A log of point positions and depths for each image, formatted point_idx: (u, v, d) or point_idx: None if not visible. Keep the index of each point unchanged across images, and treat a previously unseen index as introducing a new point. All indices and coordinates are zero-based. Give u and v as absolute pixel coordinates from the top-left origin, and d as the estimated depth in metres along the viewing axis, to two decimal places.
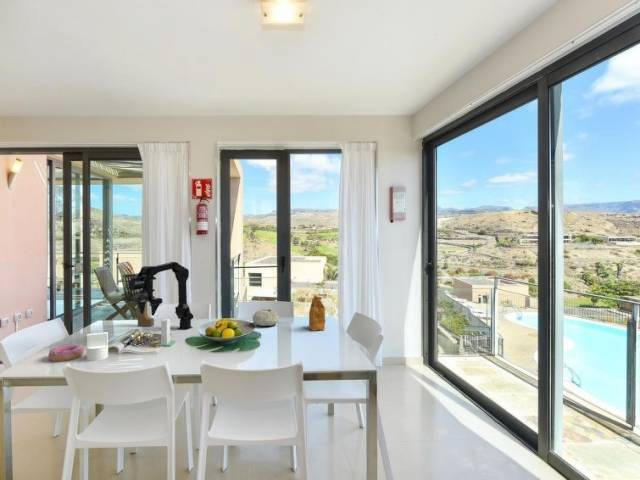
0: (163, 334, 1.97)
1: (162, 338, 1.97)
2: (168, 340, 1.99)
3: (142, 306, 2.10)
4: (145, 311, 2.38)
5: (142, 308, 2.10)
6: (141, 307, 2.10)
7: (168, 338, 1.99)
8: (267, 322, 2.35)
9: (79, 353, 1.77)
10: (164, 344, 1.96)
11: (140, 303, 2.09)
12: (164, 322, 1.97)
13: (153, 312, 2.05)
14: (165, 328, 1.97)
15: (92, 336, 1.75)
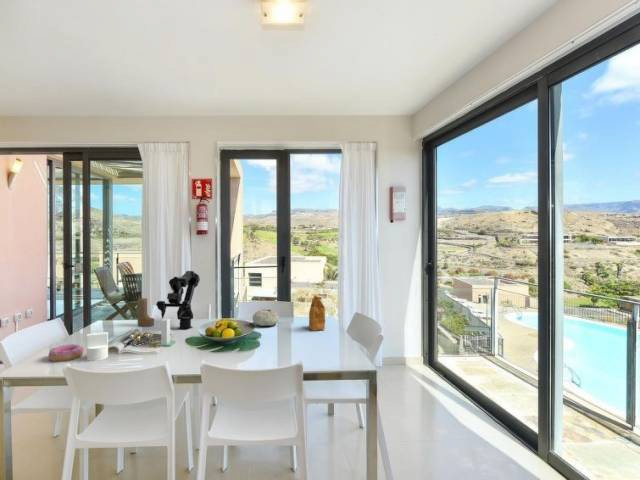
0: (163, 334, 1.97)
1: (162, 338, 1.97)
2: (168, 340, 1.99)
3: (163, 312, 2.09)
4: (145, 311, 2.38)
5: (163, 313, 2.08)
6: (163, 311, 2.08)
7: (168, 338, 1.99)
8: (267, 322, 2.35)
9: (79, 353, 1.77)
10: (164, 344, 1.96)
11: (164, 307, 2.10)
12: (164, 322, 1.97)
13: (180, 314, 2.08)
14: (165, 328, 1.97)
15: (92, 336, 1.75)
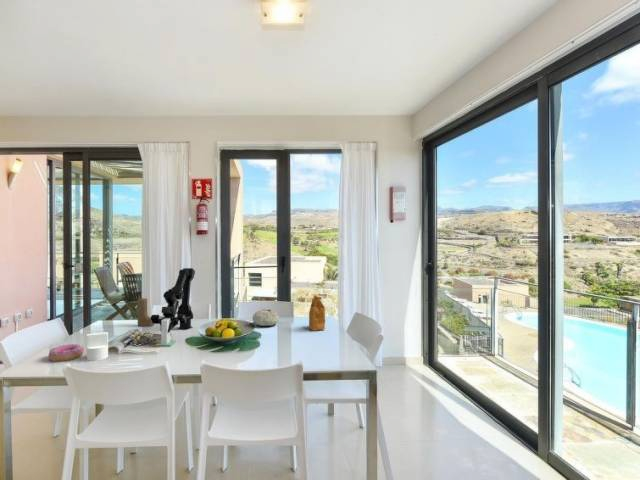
0: (163, 334, 1.97)
1: (162, 338, 1.97)
2: (168, 340, 1.99)
3: None
4: (145, 311, 2.38)
5: None
6: None
7: (168, 338, 1.99)
8: (267, 322, 2.35)
9: (79, 353, 1.77)
10: (164, 344, 1.96)
11: None
12: (164, 322, 1.97)
13: (170, 329, 1.99)
14: (165, 328, 1.97)
15: (92, 336, 1.75)
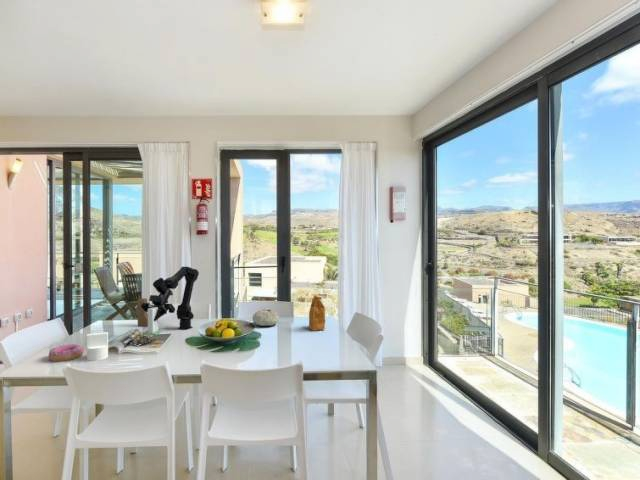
0: (149, 322, 1.98)
1: (148, 326, 1.98)
2: (155, 329, 2.00)
3: None
4: (145, 311, 2.38)
5: None
6: None
7: (155, 327, 2.00)
8: (267, 322, 2.35)
9: (79, 353, 1.77)
10: (150, 332, 1.97)
11: None
12: (150, 311, 1.97)
13: (156, 317, 2.00)
14: (151, 317, 1.97)
15: (92, 336, 1.75)
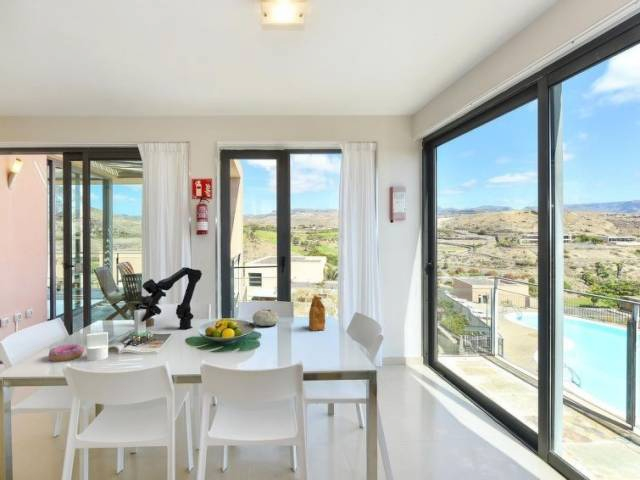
0: (135, 324, 2.02)
1: (135, 327, 2.02)
2: (141, 330, 2.03)
3: None
4: None
5: None
6: None
7: (141, 328, 2.03)
8: (267, 322, 2.35)
9: (79, 353, 1.77)
10: (135, 333, 2.01)
11: None
12: (136, 312, 2.01)
13: (144, 318, 2.02)
14: (137, 318, 2.01)
15: (92, 336, 1.75)
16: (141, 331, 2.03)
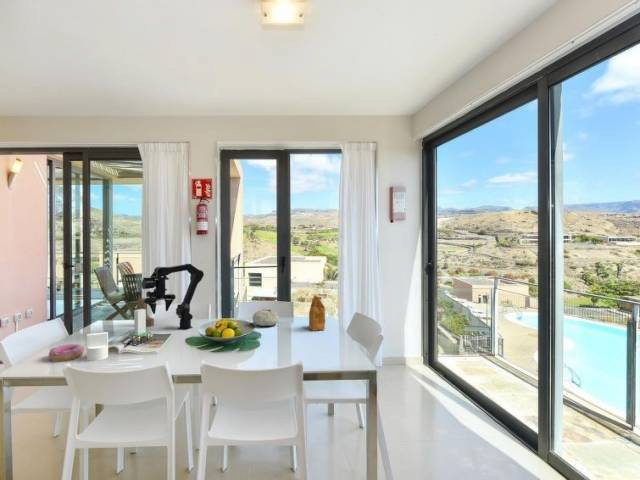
0: (135, 324, 2.02)
1: (135, 327, 2.02)
2: (141, 330, 2.03)
3: (167, 304, 2.25)
4: None
5: (166, 306, 2.25)
6: (166, 305, 2.25)
7: (141, 328, 2.03)
8: (267, 322, 2.35)
9: (79, 353, 1.77)
10: (135, 333, 2.01)
11: (166, 301, 2.25)
12: (136, 312, 2.01)
13: (152, 311, 2.16)
14: (137, 318, 2.01)
15: (92, 336, 1.75)
16: (141, 331, 2.03)
